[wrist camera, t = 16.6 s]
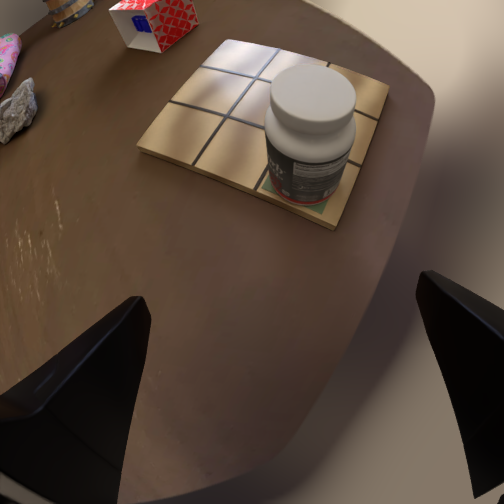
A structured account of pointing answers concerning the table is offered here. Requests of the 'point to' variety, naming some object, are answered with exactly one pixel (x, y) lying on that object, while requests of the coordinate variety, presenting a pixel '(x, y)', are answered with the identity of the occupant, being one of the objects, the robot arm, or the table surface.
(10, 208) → the table surface
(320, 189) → the pill bottle
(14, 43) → the pencil case
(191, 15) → the red white patterned cube
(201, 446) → the table surface
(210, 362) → the table surface
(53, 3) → the mug
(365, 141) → the board
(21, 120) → the mineral specimen
